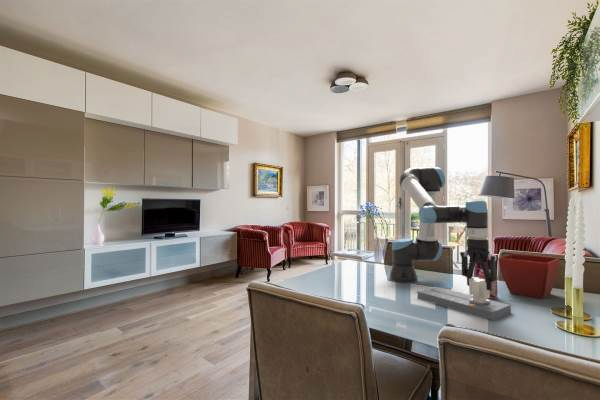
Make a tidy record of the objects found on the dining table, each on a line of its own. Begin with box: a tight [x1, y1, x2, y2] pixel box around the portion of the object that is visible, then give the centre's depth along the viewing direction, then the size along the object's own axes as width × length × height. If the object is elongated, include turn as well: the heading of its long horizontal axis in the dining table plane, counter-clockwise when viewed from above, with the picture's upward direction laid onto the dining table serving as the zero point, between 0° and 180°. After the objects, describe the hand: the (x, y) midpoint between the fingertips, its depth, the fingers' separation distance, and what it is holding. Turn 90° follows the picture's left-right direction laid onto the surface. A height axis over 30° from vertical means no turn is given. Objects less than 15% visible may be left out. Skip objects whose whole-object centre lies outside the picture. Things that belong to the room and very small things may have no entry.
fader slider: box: [469, 278, 491, 306], centre depth 116 cm, size 6×5×9 cm
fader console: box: [417, 286, 512, 321], centre depth 123 cm, size 14×32×3 cm, turn 31°
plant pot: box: [497, 253, 560, 299], centre depth 137 cm, size 19×19×17 cm
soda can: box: [478, 269, 498, 299], centre depth 133 cm, size 7×7×12 cm
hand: (479, 295), depth 116 cm, fingers open, 5 cm apart
